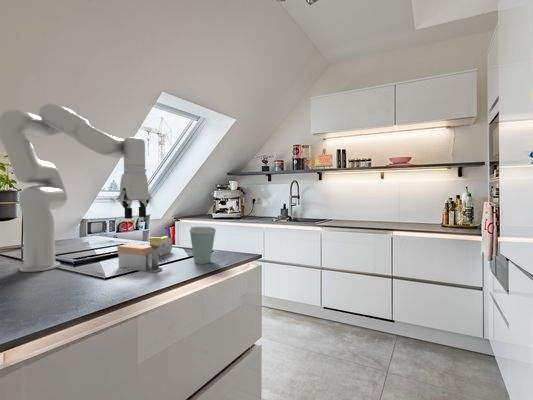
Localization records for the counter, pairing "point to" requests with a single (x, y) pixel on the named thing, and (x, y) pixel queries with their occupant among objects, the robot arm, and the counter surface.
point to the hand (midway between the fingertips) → (135, 217)
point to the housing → (141, 261)
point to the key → (158, 240)
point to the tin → (165, 247)
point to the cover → (135, 249)
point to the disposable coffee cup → (202, 243)
